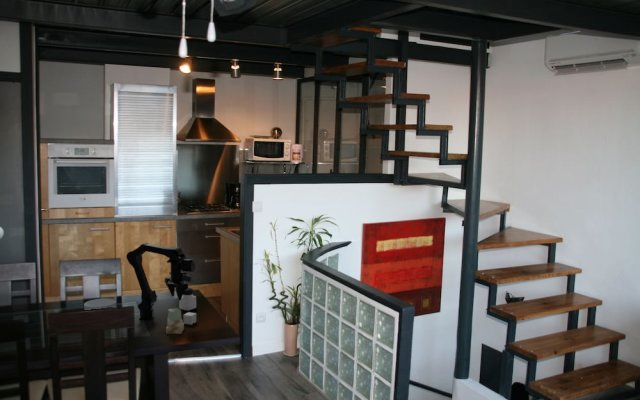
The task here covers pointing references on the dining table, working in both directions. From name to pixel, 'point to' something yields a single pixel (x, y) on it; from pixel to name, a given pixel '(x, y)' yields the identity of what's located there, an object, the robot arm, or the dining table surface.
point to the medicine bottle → (187, 300)
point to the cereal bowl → (99, 304)
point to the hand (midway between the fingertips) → (176, 298)
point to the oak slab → (174, 330)
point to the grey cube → (189, 318)
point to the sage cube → (174, 314)
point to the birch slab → (174, 323)
